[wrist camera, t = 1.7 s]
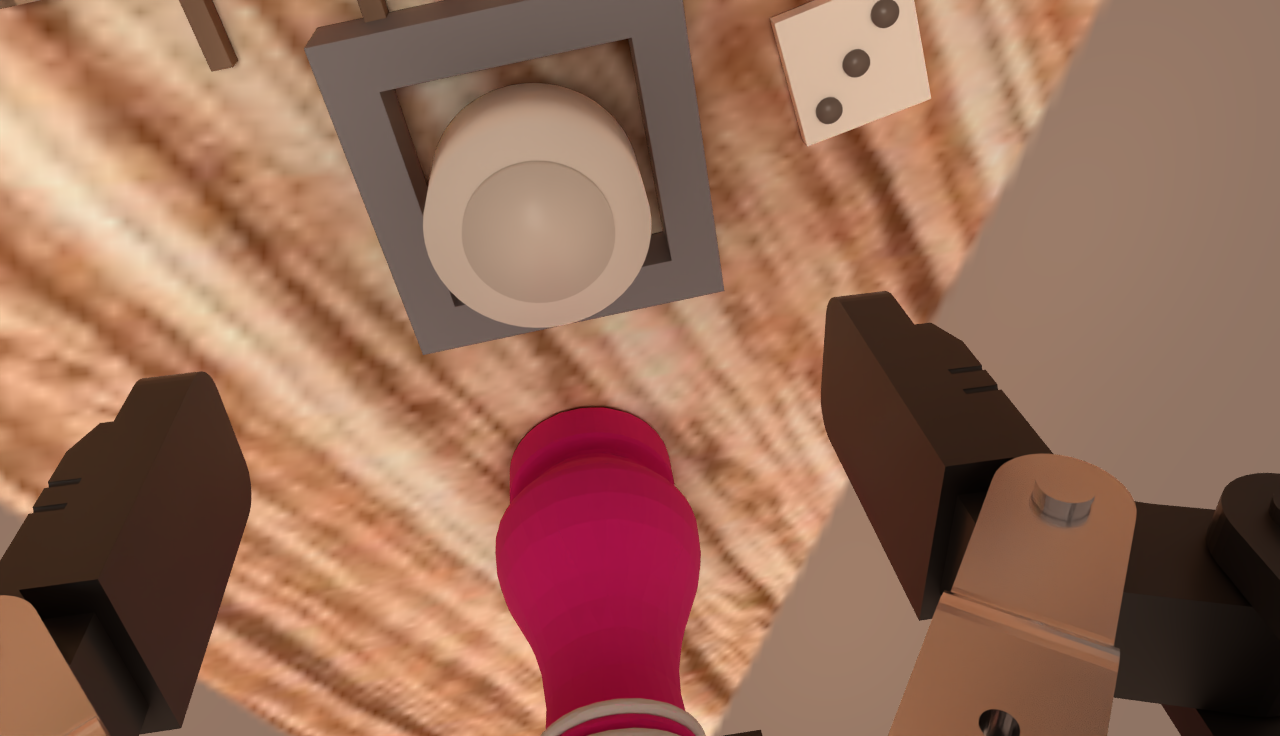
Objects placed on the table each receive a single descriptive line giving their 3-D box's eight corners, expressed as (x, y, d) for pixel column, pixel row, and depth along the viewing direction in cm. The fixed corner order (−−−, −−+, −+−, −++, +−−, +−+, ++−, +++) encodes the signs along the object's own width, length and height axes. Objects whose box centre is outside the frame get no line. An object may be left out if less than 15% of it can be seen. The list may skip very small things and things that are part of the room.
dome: (617, 61, 25) (630, 103, 22) (654, 253, 28) (669, 308, 26) (402, 108, 25) (389, 155, 22) (465, 293, 28) (460, 353, 26)
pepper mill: (458, 460, 35) (410, 1095, 19) (609, 361, 33) (703, 971, 17) (572, 558, 39) (615, 1158, 23) (714, 475, 37) (872, 1062, 21)
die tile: (901, -36, 26) (910, -30, 26) (924, 92, 29) (932, 100, 28) (769, 18, 27) (775, 25, 26) (802, 139, 29) (808, 148, 29)
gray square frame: (667, -48, 26) (677, -33, 24) (713, 261, 31) (724, 291, 30) (317, 28, 26) (304, 49, 24) (427, 322, 31) (423, 354, 30)
